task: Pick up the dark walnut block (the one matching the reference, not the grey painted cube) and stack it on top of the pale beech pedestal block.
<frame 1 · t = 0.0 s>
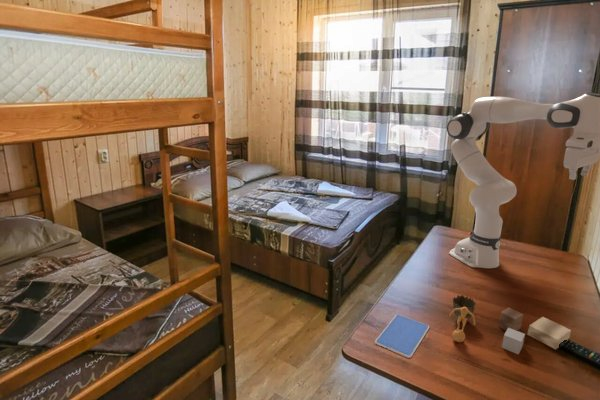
hand: (578, 177, 142), 48 cm above the table, fingers open, 8 cm apart
cup: (461, 320, 139), on the table
beech pedestal block: (547, 337, 130), on the table
walnut block: (509, 327, 134), on the table
grey painted cube: (512, 347, 125), on the table
tablet computer: (402, 336, 131), on the table
figurine: (458, 339, 129), on the table
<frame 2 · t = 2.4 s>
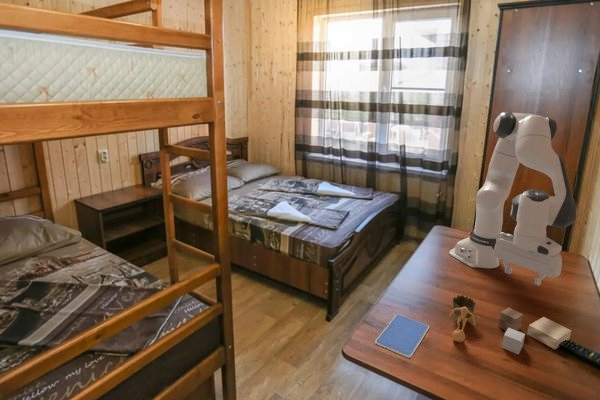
hand: (522, 278, 128), 20 cm above the table, fingers open, 8 cm apart
nothing on the table moved.
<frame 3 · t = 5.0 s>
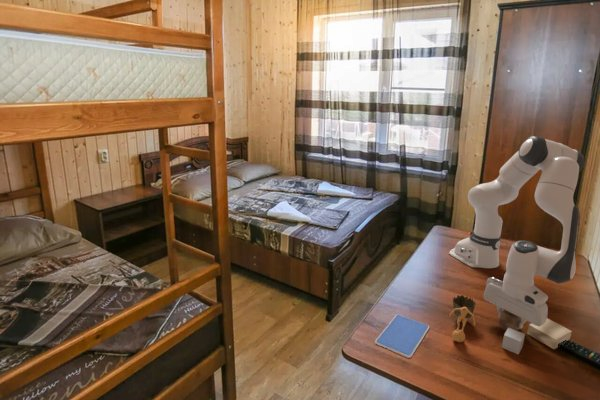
hand: (510, 322, 134), 2 cm above the table, fingers closed on walnut block, 5 cm apart
walnut block: (509, 327, 134), on the table, touching gripper
everything else where it was.
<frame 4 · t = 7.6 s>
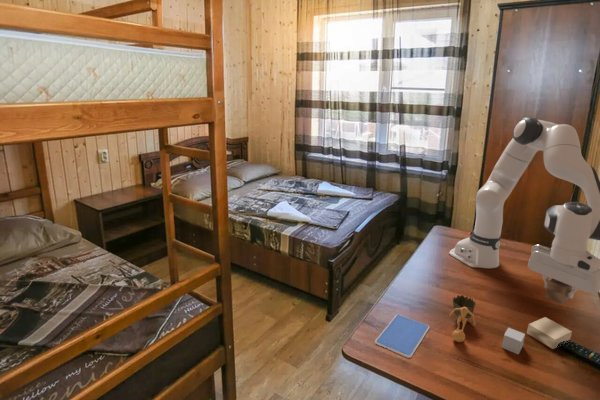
hand: (558, 292, 124), 17 cm above the table, fingers closed on walnut block, 5 cm apart
walnut block: (556, 298, 125), point 15 cm above the table, touching gripper
everything else where it was.
when the fingers open (7 cm above the table, at t = 10.3 s): walnut block drops 1 cm, point 4 cm above the table.
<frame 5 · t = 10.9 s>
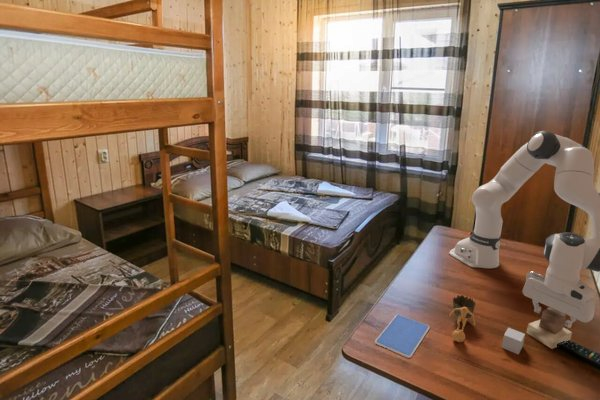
hand: (552, 318, 127), 7 cm above the table, fingers open, 8 cm apart
walnut block: (550, 327, 129), point 4 cm above the table
everything else where it was.
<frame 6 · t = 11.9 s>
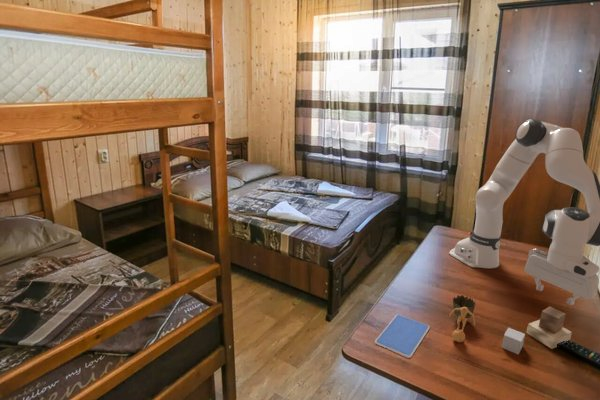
hand: (554, 296, 125), 15 cm above the table, fingers open, 8 cm apart
beech pedestal block: (547, 337, 130), on the table, touching walnut block
walnut block: (550, 327, 129), point 4 cm above the table, touching beech pedestal block
everything else where it was.
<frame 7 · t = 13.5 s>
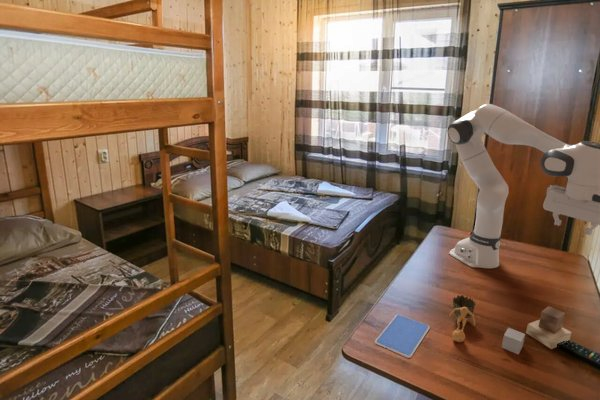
hand: (572, 229, 132), 34 cm above the table, fingers open, 8 cm apart
nothing on the table moved.
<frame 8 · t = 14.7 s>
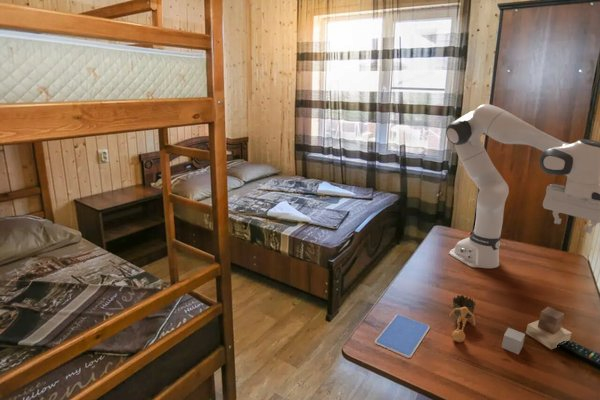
hand: (572, 227, 132), 34 cm above the table, fingers open, 8 cm apart
nothing on the table moved.
at the end: walnut block 0.2 cm from the beech pedestal block (horizontally); walnut block point 3.6 cm above the table; walnut block tilted 0° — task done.
